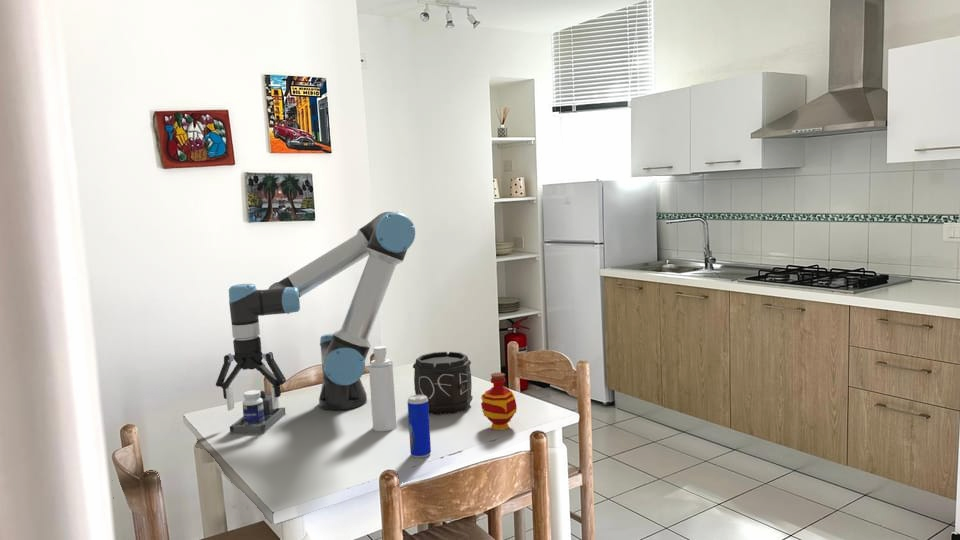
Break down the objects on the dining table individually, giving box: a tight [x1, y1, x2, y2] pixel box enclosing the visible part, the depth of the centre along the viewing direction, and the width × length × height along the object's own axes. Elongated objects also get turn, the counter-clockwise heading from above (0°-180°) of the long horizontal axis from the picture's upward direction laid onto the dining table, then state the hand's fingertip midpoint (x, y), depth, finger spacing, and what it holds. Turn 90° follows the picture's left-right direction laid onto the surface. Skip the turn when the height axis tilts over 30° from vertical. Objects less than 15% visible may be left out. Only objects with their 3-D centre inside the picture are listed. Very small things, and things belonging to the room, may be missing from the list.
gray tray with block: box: [229, 390, 286, 435], centre depth 204 cm, size 10×17×9 cm, turn 175°
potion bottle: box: [480, 372, 518, 431], centre depth 191 cm, size 10×10×15 cm
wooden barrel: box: [412, 351, 474, 416], centre depth 212 cm, size 18×18×16 cm
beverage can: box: [407, 394, 432, 459], centre depth 173 cm, size 5×5×15 cm
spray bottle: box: [368, 345, 397, 432], centre depth 195 cm, size 7×7×25 cm
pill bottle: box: [242, 389, 264, 425], centre depth 201 cm, size 6×6×10 cm
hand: (253, 408), depth 201 cm, fingers open, 13 cm apart
